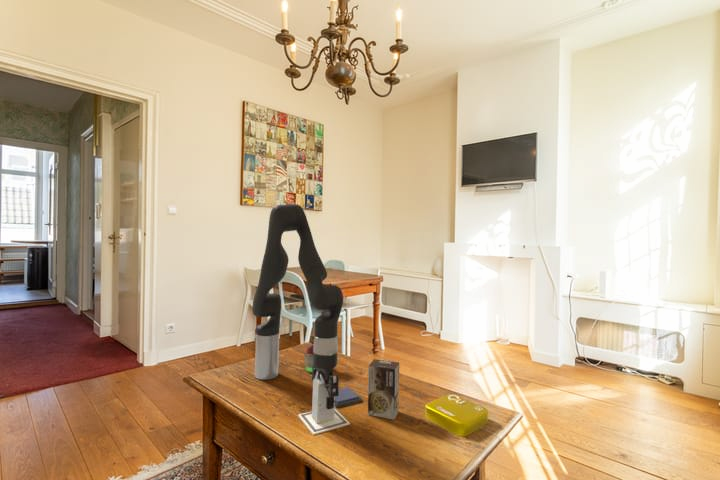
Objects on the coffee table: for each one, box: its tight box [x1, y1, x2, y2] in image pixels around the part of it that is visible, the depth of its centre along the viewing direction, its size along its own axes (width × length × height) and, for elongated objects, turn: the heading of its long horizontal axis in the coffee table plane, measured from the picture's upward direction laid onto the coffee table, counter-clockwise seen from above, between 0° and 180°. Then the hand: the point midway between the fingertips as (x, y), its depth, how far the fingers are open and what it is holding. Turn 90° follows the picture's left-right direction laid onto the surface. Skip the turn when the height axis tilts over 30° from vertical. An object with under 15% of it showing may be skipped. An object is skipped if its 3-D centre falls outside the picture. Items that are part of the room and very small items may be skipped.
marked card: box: [297, 408, 351, 436], centre depth 106 cm, size 12×12×1 cm
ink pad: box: [335, 387, 363, 409], centre depth 120 cm, size 10×10×2 cm
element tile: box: [424, 393, 489, 438], centre depth 109 cm, size 15×15×5 cm
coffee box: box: [367, 358, 400, 420], centre depth 111 cm, size 9×6×16 cm
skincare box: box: [311, 378, 336, 424], centre depth 106 cm, size 6×4×12 cm
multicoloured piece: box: [303, 332, 315, 374], centre depth 147 cm, size 12×13×15 cm
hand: (324, 402), depth 106 cm, fingers open, 8 cm apart
